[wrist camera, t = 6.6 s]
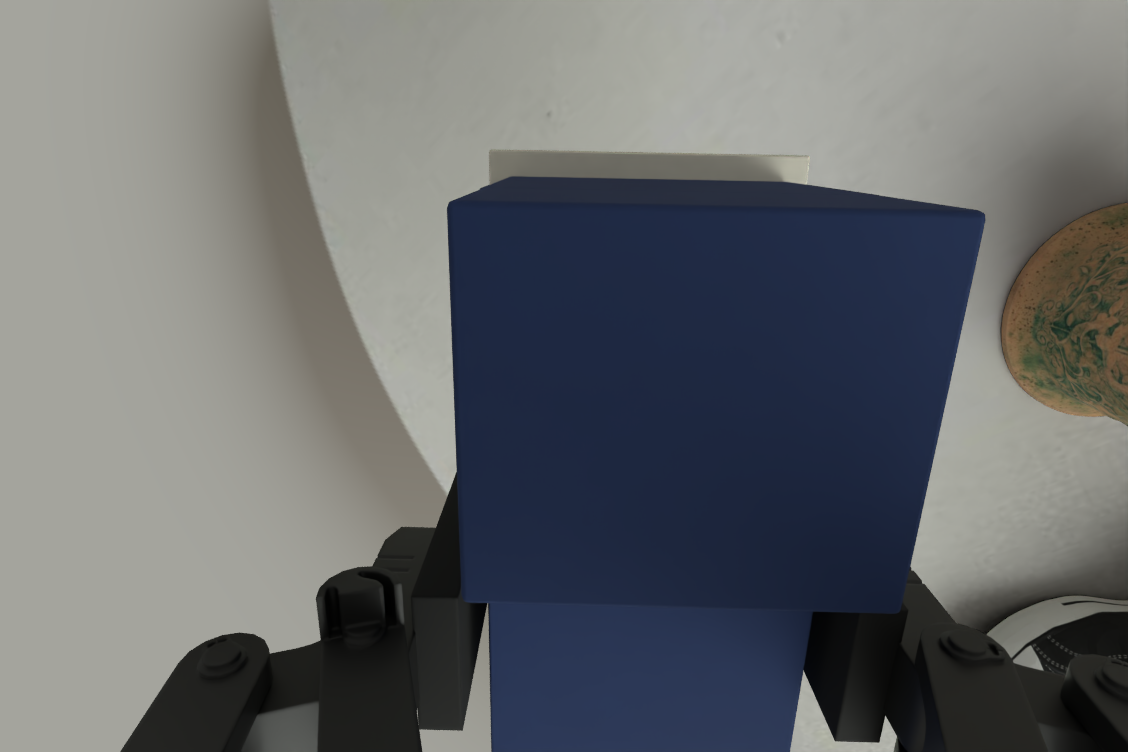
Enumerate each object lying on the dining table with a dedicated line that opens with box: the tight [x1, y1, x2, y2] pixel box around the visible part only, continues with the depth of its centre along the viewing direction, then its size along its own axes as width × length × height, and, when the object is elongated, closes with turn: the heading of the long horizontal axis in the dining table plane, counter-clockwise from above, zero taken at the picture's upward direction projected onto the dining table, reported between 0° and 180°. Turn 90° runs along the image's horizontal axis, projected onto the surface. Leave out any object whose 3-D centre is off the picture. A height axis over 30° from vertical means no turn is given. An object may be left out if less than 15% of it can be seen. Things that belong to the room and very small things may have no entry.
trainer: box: [447, 150, 985, 752], centre depth 13 cm, size 16×6×8 cm, turn 179°
